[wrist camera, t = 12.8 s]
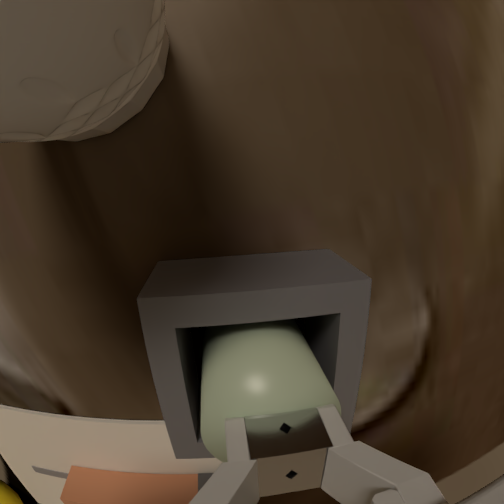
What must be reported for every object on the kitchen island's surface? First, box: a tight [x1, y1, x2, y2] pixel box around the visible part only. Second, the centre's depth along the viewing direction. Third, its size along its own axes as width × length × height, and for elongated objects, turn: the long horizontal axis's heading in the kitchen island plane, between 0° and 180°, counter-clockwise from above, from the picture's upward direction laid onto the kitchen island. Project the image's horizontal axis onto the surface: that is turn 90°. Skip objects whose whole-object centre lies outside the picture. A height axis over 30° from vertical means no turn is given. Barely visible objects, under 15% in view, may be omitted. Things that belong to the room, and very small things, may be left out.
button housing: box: [137, 249, 372, 459], centre depth 12 cm, size 7×7×4 cm
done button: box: [201, 319, 341, 462], centre depth 10 cm, size 4×4×5 cm
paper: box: [0, 405, 223, 504], centre depth 15 cm, size 18×12×1 cm, turn 93°
